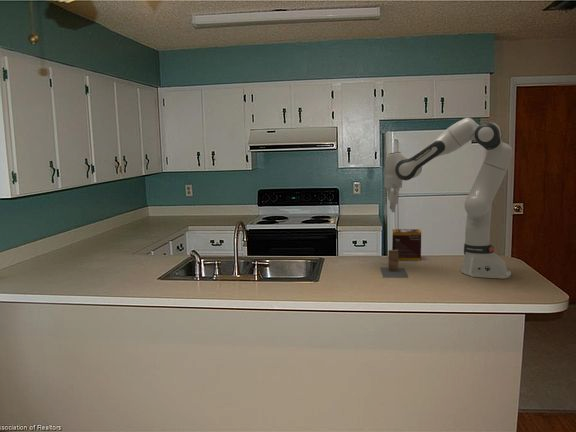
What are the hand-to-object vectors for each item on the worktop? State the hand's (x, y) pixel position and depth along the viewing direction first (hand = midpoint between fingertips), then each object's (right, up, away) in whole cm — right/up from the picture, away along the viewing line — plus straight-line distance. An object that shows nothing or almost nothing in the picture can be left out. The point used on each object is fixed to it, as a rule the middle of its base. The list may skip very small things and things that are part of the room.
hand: (392, 210), depth 267 cm
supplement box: (+11, -26, +18) cm, 34 cm away
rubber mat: (-2, -31, -13) cm, 33 cm away
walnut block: (-1, -30, -9) cm, 31 cm away
